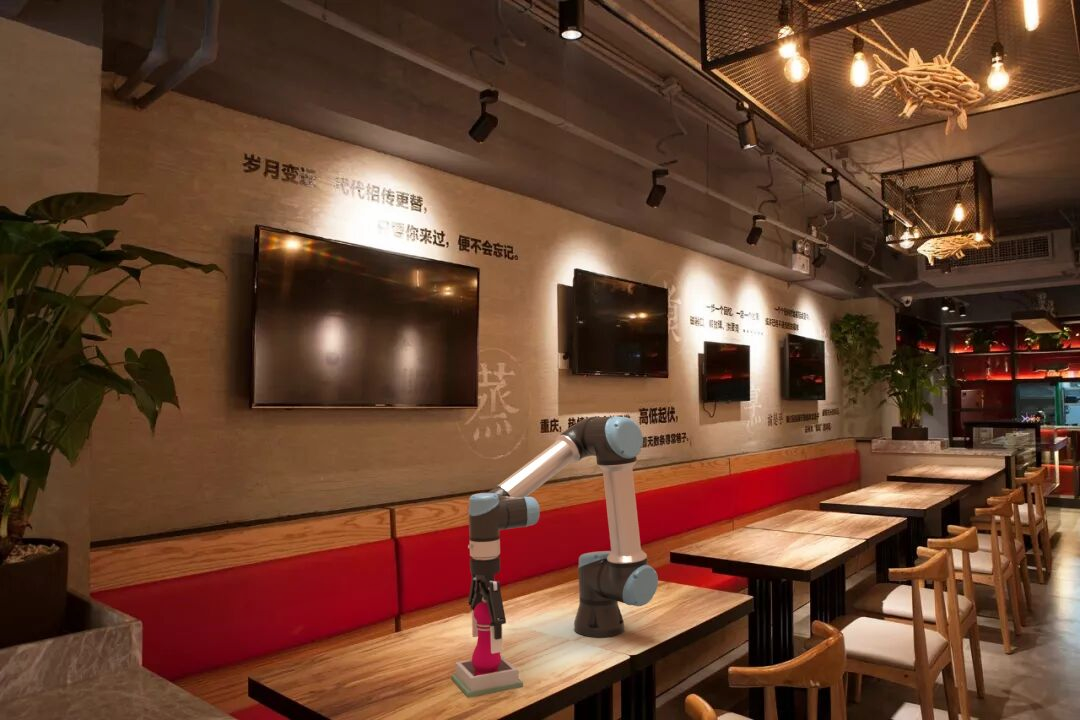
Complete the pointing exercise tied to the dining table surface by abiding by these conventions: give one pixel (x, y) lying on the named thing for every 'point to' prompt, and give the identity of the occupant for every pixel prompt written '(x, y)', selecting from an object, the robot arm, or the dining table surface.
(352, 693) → the dining table surface
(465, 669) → the deck socket
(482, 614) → the pepper mill
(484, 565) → the robot arm
